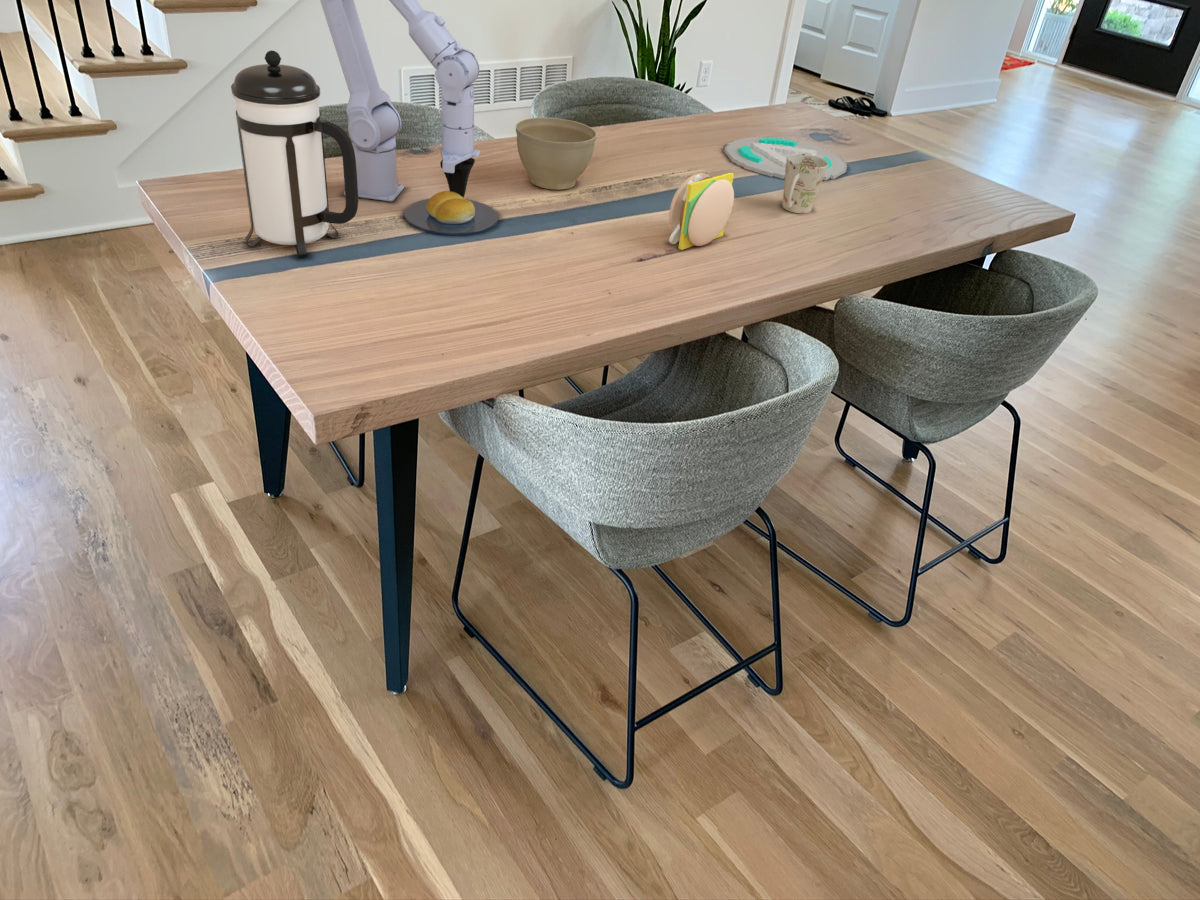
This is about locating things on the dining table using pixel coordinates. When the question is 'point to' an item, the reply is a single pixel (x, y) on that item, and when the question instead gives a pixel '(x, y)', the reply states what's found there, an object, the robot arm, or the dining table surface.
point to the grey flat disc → (778, 155)
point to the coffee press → (288, 155)
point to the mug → (802, 181)
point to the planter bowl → (554, 150)
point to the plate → (425, 222)
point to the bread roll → (450, 208)
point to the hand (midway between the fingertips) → (457, 198)
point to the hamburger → (701, 209)
